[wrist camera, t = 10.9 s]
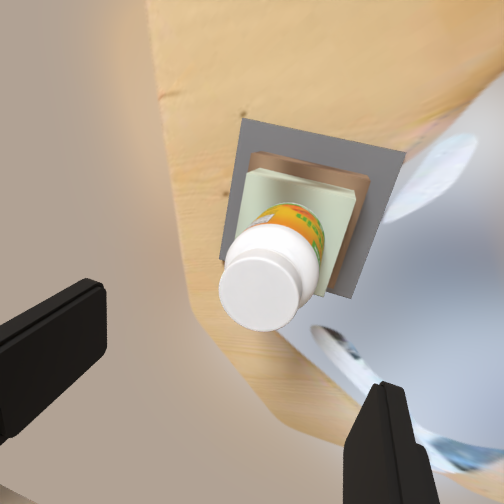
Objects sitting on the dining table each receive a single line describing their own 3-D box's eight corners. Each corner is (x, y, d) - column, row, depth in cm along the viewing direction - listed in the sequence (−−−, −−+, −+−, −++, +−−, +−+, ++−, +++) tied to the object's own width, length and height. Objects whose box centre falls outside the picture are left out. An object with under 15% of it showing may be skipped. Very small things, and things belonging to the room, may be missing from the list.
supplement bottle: (339, 249, 23) (337, 321, 14) (278, 279, 25) (243, 358, 16) (301, 186, 22) (273, 221, 13) (241, 223, 24) (184, 274, 15)
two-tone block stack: (367, 175, 28) (376, 189, 20) (334, 271, 32) (332, 311, 24) (262, 150, 29) (236, 156, 22) (243, 245, 33) (216, 275, 26)
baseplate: (404, 152, 27) (406, 152, 26) (350, 294, 33) (350, 298, 32) (245, 118, 30) (242, 117, 29) (222, 256, 36) (218, 259, 35)
